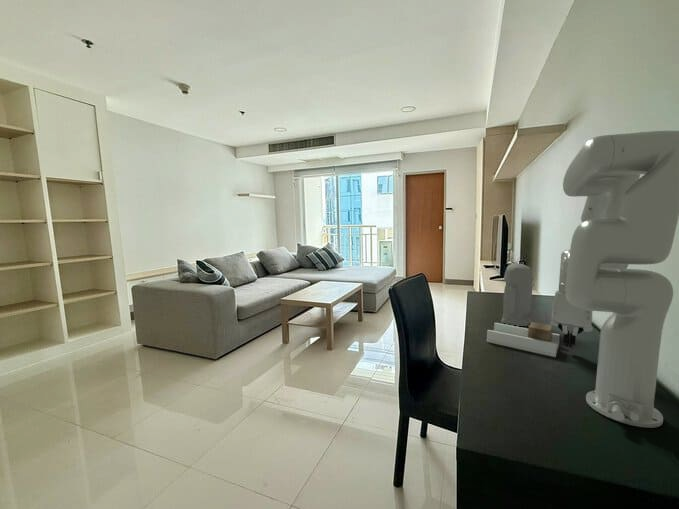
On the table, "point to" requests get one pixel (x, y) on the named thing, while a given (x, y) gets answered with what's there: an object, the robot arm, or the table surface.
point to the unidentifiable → (517, 295)
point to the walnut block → (540, 331)
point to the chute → (522, 339)
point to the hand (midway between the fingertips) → (569, 345)
